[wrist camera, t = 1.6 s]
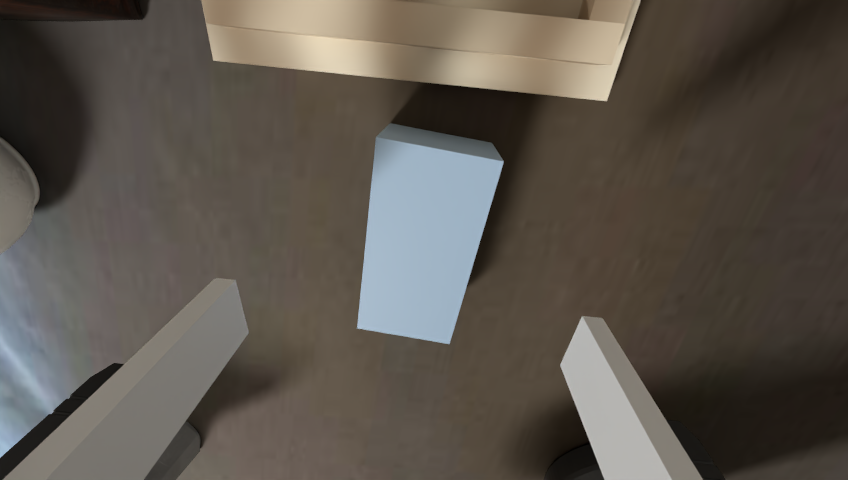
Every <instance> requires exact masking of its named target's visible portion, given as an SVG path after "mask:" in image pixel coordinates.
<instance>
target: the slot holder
mask: <svg viewBox="0 0 848 480" xmlns="http://www.w3.org/2000/svg"><path fill="white" fill-rule="evenodd" d="M640 1H641V0H202V5H203V10H204V15H205V20H206V25H207V31H208V36H209V41H210V46H211V51H212V56H213V61H223V62H232V63H242V64H252V65H261V66H271V67H281V68H291V69H300V70H310V71H320V72H329V73H339V74H349V75H358V76H368V77H378V78H388V79H397V80H407V81H417V82H426V83H436V84H446V85H455V86H465V87H475V88H484V89H494V90H504V91H514V92H523V93H533V94H543V95H552V96H562V97H572V98H581V99H591V100H601V101H607V99H608V96H609V93H610V90H611V87H612V84H613V81H614V78H615V75H616V72H617V69H618V66H619V63H620V60H621V57H622V54H623V51H624V48H625V45H626V42H627V39H628V36H629V33H630V31H631V28H632V25H633V22H634V19H635V16H636V13H637V10H638V7H639V4H640Z"/></svg>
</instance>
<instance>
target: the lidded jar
mask: <svg viewBox="0 0 848 480" xmlns="http://www.w3.org/2000/svg"><path fill="white" fill-rule="evenodd" d="M39 198H40V188H39V183H38V180H37V178H36V176H35V174H34V172H33V170H32V168H31V167H30V166H29V164H28V163H27V161H26V160H25V159H24V158H23V157H22V155H21V154H20V153H19V152H18V151H17V150H16V149H15V148H14V147H12V146H11V145H10V144H9V143H8V142H7V141H5V140H4V139H2V138H1V137H0V254H2V253H3V252H5V251H6V250H8V249H9V248H10V247H11V246H12V245H13V244H14V243H15V242H16V241H17V240H18V239H19V238H20V237H21V236H22V235H23V234H24V232H25V231H26V229H27V228H28V226H29V224H30V222H31V220H32V216H33V212H34V207H35V206H36V205H37V203H38V201H39Z"/></svg>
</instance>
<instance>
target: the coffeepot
mask: <svg viewBox="0 0 848 480" xmlns="http://www.w3.org/2000/svg"><path fill="white" fill-rule="evenodd" d="M200 442H201V439H200V436H199V434H198V432H197V431H196V429H195V428H194V427H193V426H192V425H190V424H189V423H188V422H187V421H185V423H184V424H183V426H182V427H181V428H180V430H179V431H178V432H177V434H176V435H175V437H174V438H173V439H172V441H171V442H170V444H169V445H168V446H167V448H166V449H165V451H164V452H163V453H162V455H161V456H160V458H159V459H158V460H157V462H156V463H155V465H154V466H153V467H152V469H151V470H150V472H149V473H148V474H147V476H146V477H145V479H144V480H176V479H177V478H178V477H179V475H180V474H181V473H182V472H183V471H184V469H185V468H186V467H187V466H188V465H189V463H190V462H191V461H192V460H193V459H194V458H195V456H196V455H197V454H198V453H199V452H200Z"/></svg>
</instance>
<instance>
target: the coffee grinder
mask: <svg viewBox="0 0 848 480" xmlns="http://www.w3.org/2000/svg"><path fill="white" fill-rule="evenodd" d="M0 19H5V20H26V21H103V20H141V19H143V18H142V14H141V10H140V6H139V2H138V0H0Z"/></svg>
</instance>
